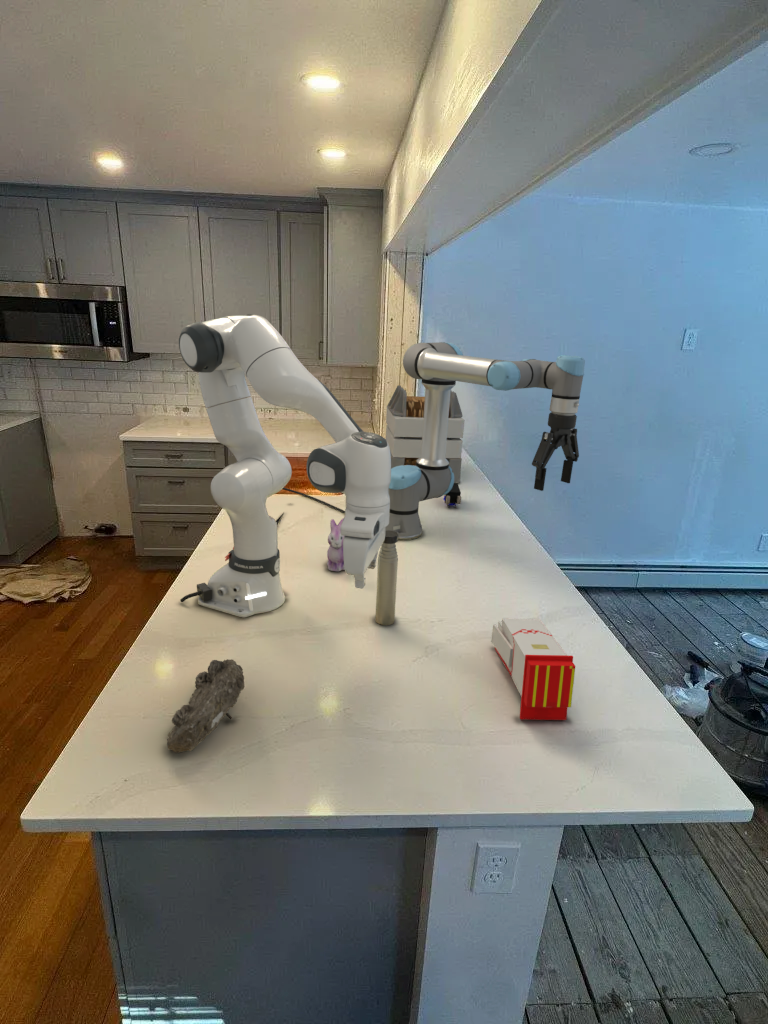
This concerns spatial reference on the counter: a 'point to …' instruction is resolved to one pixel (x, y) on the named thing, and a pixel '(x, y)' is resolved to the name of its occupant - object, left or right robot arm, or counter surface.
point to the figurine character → (453, 496)
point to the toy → (535, 667)
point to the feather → (279, 518)
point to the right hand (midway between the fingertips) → (552, 485)
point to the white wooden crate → (420, 430)
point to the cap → (390, 537)
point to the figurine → (335, 547)
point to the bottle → (386, 584)
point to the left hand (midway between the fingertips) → (366, 576)
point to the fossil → (206, 705)
